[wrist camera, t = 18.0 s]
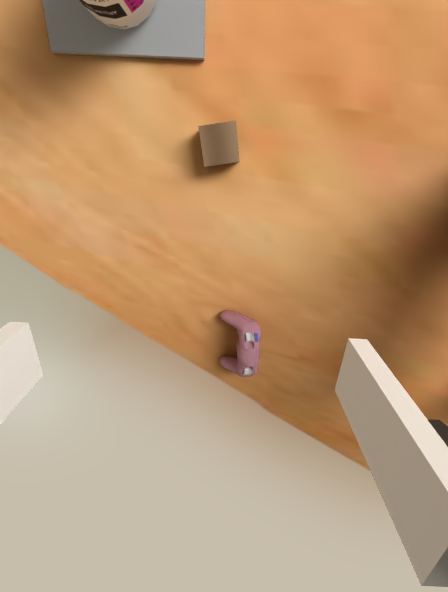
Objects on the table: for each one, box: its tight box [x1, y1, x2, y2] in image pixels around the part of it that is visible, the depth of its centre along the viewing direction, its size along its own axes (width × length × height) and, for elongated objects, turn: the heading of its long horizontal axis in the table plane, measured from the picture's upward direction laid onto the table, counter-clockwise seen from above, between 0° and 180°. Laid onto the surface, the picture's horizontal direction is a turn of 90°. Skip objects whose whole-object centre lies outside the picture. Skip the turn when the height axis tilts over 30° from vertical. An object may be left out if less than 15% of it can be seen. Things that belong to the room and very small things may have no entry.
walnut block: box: [198, 121, 239, 167], centre depth 33 cm, size 4×4×3 cm
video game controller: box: [219, 311, 261, 377], centre depth 43 cm, size 10×5×7 cm, turn 179°
